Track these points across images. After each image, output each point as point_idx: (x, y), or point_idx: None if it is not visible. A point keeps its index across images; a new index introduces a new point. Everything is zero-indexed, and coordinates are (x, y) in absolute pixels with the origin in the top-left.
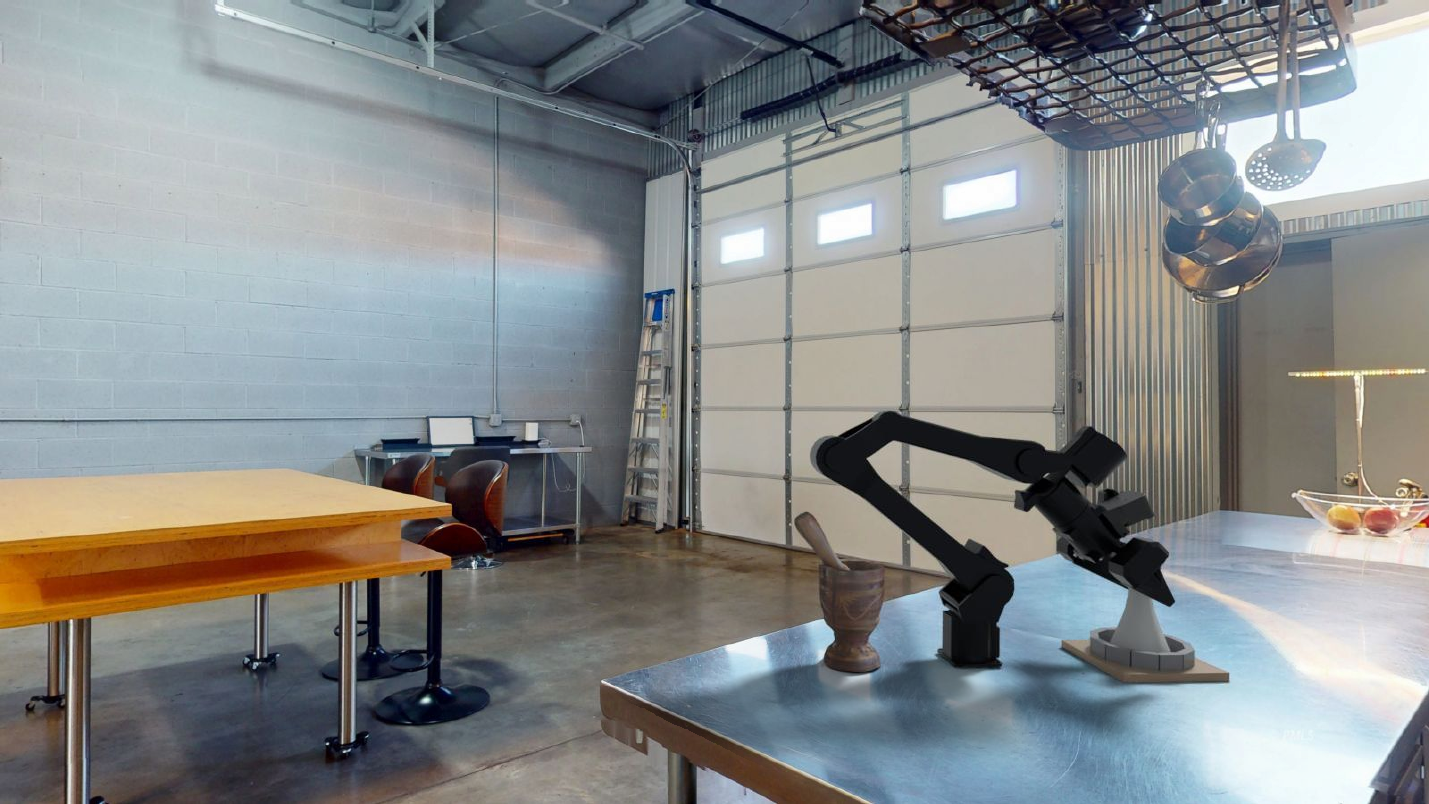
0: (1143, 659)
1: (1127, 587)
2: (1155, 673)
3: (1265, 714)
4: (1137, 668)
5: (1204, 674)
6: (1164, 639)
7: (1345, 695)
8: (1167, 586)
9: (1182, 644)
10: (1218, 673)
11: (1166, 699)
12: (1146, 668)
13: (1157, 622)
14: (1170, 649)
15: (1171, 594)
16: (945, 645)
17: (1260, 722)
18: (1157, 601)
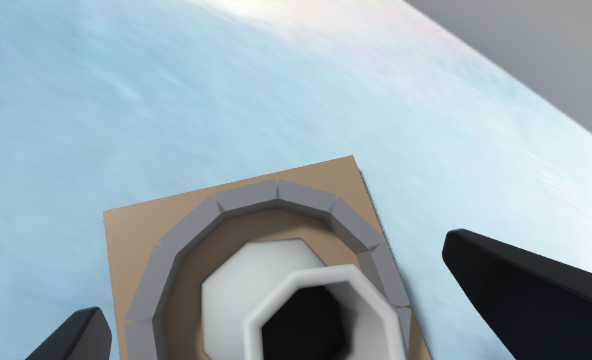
0: None
1: (105, 350)
2: (413, 321)
3: (496, 185)
4: None
5: (371, 206)
6: (308, 252)
7: (361, 28)
8: (583, 272)
9: (283, 200)
10: (360, 176)
11: None
12: None
13: (315, 267)
14: (233, 216)
15: (512, 247)
16: None
17: (535, 210)
18: (477, 309)
